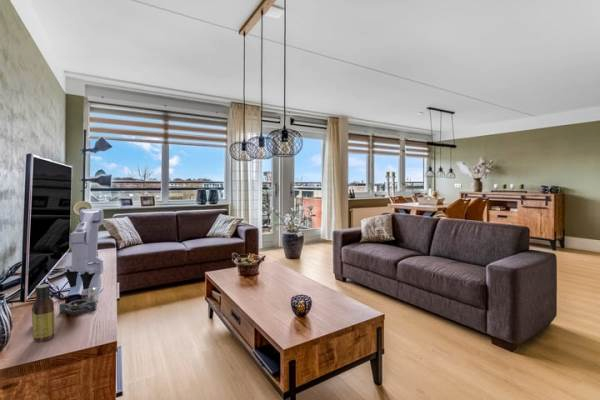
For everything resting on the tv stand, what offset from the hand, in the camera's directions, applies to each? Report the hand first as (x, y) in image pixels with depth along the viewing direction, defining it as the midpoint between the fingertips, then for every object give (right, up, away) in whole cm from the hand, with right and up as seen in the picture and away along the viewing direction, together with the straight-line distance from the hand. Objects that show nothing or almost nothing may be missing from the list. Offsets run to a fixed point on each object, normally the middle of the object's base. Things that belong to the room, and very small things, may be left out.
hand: (79, 287), depth 137 cm
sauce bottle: (+6, -11, -26) cm, 29 cm away
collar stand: (0, -10, -1) cm, 10 cm away
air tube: (0, -10, +9) cm, 13 cm away
